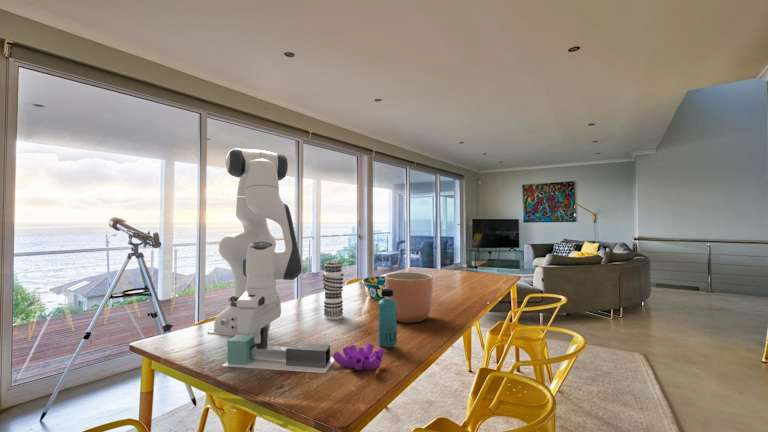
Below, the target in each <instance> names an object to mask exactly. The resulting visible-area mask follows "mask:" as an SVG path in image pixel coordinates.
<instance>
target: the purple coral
mask: <svg viewBox="0 0 768 432" xmlns="http://www.w3.org/2000/svg"><path fill="white" fill-rule="evenodd" d="M373 350H374V344H373V343H369V342H367V343H366V345H365V347H358V349H357V346H356V344H351V345H349V346H348V345H347V346H345V347H343V348H342V352H343V354H342V353H341V352H340V351H338V350H337V351H335V352H334V353H333V354H332V357H333V358H334V362H335V363H337V364H338V365H340V366H342V367H344V368H350V369H351V368H354V369H355V370H356V371H361V370H367V371H368V370H369V371H370V370H374V369H376V368H378V366H380V365H381V363H382V361H383V357H384V356H385V353H386V351H385V349H384V348H382V347H378V348H377V350H375V351H373Z"/></svg>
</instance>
